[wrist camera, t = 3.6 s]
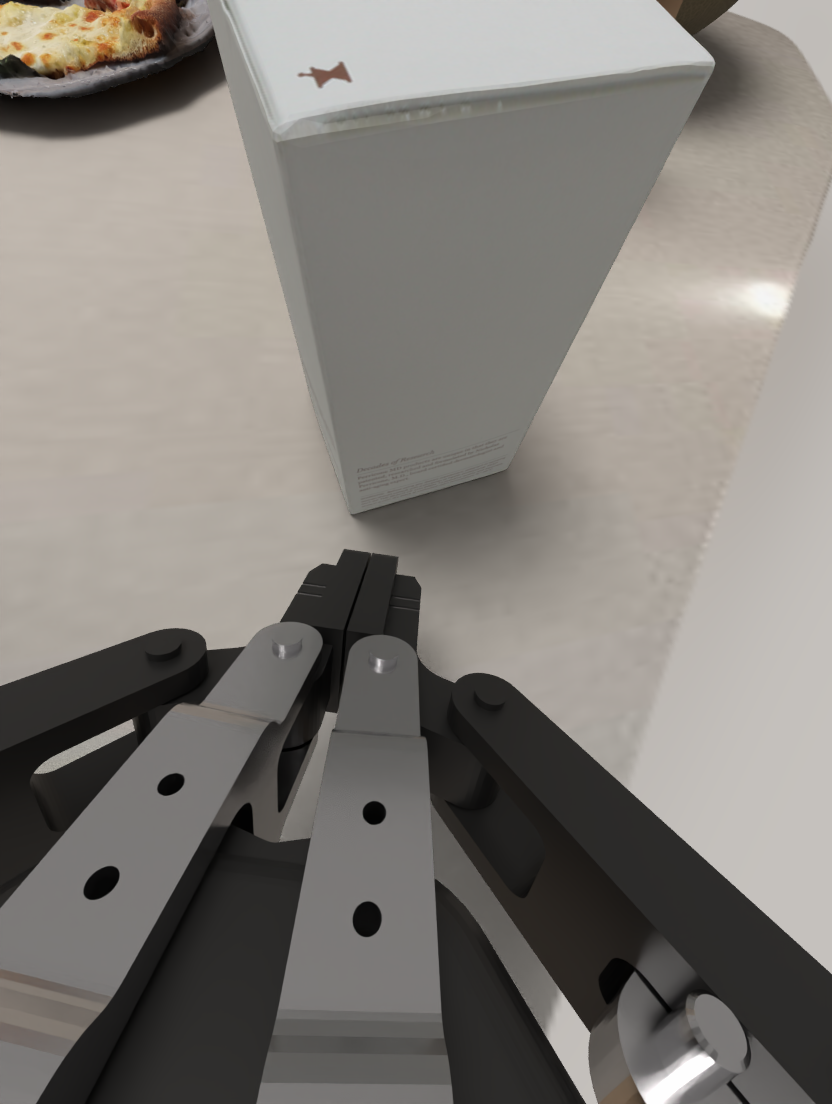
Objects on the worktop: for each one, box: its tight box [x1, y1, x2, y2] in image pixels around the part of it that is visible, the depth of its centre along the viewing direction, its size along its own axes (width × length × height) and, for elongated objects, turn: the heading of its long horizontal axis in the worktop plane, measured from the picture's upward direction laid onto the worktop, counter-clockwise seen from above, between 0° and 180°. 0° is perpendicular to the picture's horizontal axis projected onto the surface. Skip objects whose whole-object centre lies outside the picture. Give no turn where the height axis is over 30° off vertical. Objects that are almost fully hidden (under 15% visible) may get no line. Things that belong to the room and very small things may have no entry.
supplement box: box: [207, 0, 715, 514], centre depth 13 cm, size 7×7×13 cm
